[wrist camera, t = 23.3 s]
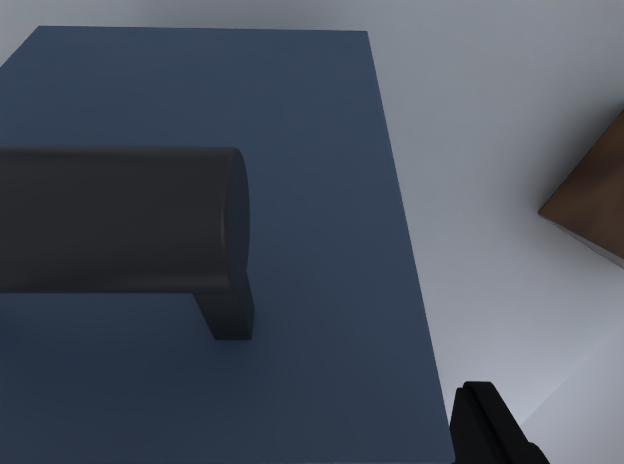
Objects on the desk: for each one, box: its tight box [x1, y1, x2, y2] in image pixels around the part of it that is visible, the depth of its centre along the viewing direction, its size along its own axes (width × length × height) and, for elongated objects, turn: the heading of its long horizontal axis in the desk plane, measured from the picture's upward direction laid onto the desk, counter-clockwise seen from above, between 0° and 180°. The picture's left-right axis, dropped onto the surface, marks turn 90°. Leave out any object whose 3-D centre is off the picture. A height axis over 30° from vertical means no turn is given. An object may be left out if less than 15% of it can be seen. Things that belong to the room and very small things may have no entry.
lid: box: [0, 26, 455, 464], centre depth 9 cm, size 14×12×5 cm
